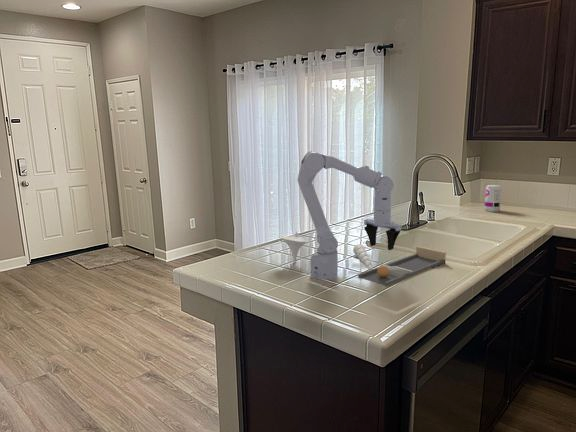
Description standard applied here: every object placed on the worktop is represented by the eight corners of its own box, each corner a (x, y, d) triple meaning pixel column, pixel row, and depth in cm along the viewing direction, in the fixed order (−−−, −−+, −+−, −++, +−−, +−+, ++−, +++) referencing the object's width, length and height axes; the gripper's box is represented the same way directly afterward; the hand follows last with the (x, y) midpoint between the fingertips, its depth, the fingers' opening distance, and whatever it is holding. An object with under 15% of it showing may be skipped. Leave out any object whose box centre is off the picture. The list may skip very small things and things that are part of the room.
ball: (384, 279, 149) (384, 268, 148) (374, 277, 152) (374, 265, 151) (391, 277, 151) (391, 265, 151) (381, 274, 154) (382, 263, 154)
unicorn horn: (362, 273, 158) (362, 261, 157) (352, 255, 181) (353, 243, 180) (375, 273, 158) (375, 260, 157) (364, 255, 181) (364, 243, 180)
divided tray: (386, 297, 144) (386, 274, 143) (358, 288, 153) (358, 266, 152) (444, 272, 167) (445, 252, 165) (417, 265, 176) (418, 246, 174)
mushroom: (295, 256, 180) (294, 227, 178) (313, 261, 172) (313, 232, 170) (275, 261, 174) (274, 232, 171) (294, 267, 166) (293, 237, 163)
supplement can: (485, 211, 256) (487, 186, 253) (483, 209, 264) (485, 184, 261) (500, 212, 254) (502, 186, 251) (498, 209, 262) (500, 184, 259)
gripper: (406, 210, 150) (405, 248, 153) (372, 205, 161) (372, 241, 164) (394, 213, 146) (393, 253, 148) (360, 208, 156) (360, 245, 159)
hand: (381, 247), depth 156 cm, fingers open, 7 cm apart
